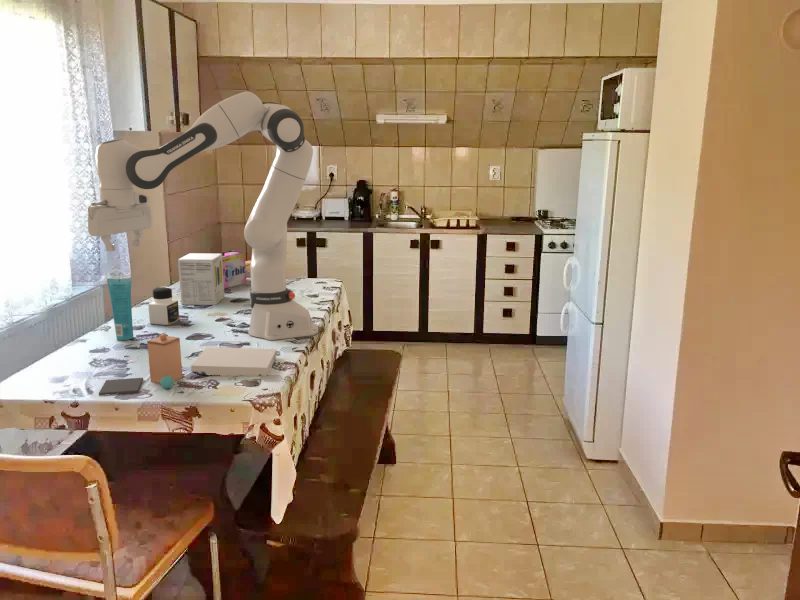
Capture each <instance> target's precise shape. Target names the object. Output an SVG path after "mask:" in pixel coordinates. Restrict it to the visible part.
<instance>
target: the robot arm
mask: <svg viewBox="0 0 800 600" xmlns="http://www.w3.org/2000/svg"><path fill="white" fill-rule="evenodd" d="M300 116H301V115H299V114H298V113H297V112H296V111H295V110H292V108H290V107H289V106H287V105H284V104H280V103H278V102H272V101H271V102H269V101H267V102H263V101H262V100H261V98H259V96H257V94H255V93H253V92H252V91H243V92H239V93H236V94H234V95H232V96H230V97H226V98H224V99H223V100H221V101H219V102H217V103H216V104H214V105H212V106H211V107H209V108H208V109H207V110H206V111H204V112H203V113H202V114H201V115H200V116H198V118H197V119H196V120H195V121H194V122H193V124H192V125H191V126H190V127H189V128H188V129H187V130H185V132H184V133H182V134H181V135H179V136H177V137H175V138H173V139H172V140H170V141H168V142H166V143H165V144H164V145H162V146H160V147H157V148H155V149H144V148H142V147H139V146H136V145H134V144H131V143H130V142H128V141H127V140H126V139H123V138H117V139H111V140H106V141H103V142H101V143H99V144H98V145H97V147H96V150H95V161H96V162H95V163H96V171H97V172H96V173H97V176H98V178H99V187H98V188H99V196H100V201H93V202H91V203H90V204H89V206H88V207H87V231H88V234H89V235H90V236H91V237H94V238H95V237H98V238H99V237H100V239H101V241H102V242H103V244H104V246H105V250H106V251H107V252H114V251H116V248H115V247H116V245H115V244H114V243H112V242H111V239H112V236H111V235H118V234H123V233H130V232H133V234H134V237H133V239H132V240H131V243H132V246H133V247H139V246H141V239H142V236H143V230H148V229H151V227H152V225H153V217H152V210H151V207H150V205H149V203H150V198H149V196H148V195H146V194H142V193H139V192H137V191H135V187H137V188H140V189H142V190H153V189H156V188H158V187H159V186H161V185H162V184H163V182H164V181H165V179H166V178H167V176H168V175H169V173H170V172H171V171H172V170H174V169H175V168H176V167H178V166H179V165H182V164H183V163H184V162H186V161H188V160H189V159H191V158H192V157H195V156H196V155H198V154H201V153H203V152H206V151H209V150H214V149H218V148H221V147H225V146H227V145H229V144H230V143H233V142H235V141H237V140H238V139H240V138H241V137H243V136H245V135H246V134H247V133H248V134H249V133H251V132H254V131H258V132H259V133H260V134H261V135H262V136H264V138H265V139H267V140H268V141H270V142H272V143H274V144H275V145H276V152H275V157H274V159H273V162H272V163H271V166H270V169H269V171H268V175H267V177H266V179H265V182H264V185H263V187H262V189H261V191H260V193H259V196H258V197H257V200H256V201H255V204H254V206H253V208H252V210H251V212H250V215H249V217H248V219H247V221H246V224H245V226H244V229H243V236H244V241H245V242H246V243H247V245H248V246H250V247H251V259H250V263H249V264H250V266H249V267H250V286H251V288H250V290H249V291H250V292H249V303H250V308H251V314H250V315H251V316H250V323H249V326H248V327H249V328H248V332H247V333H248V335H250V336H252V337H256V338H260V339H265V340H267V341H275V340H284V339H290V338H292V339H294V338H301V337H309V336H315V335H316V334H319V326H318V324H317V323H316V322H313V321H312V317H311V314H310V312H309V310H308V309H307V308H306V307H304V306H303V305H302V304H300V303H298V301H295V300H294V299H295V297H296V295H295V292H294V291H293V290H291V288H287V267H286V264H287V262H286V261H287V260H286V259H287V248H288V244H287V243H288V221H289V219H290V217H291V215H292V212H293V210H294V208H295V206H296V204H297V202H298V200H299V197H300V195H301V192H302V190H303V187H304V185H305V182H306V179H307V177H308V174H309V171H310V170H311V169H310V168H311V164H312V160H313V155H314V149H313V145H312V144H311V143H310V142H309V141H308V140H307V139H305V127H304V121H303V120H302V118H301V117H300ZM134 186H135V187H134Z"/></svg>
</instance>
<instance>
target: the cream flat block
mask: <svg viewBox="0 0 800 600" xmlns="http://www.w3.org/2000/svg"><path fill="white" fill-rule="evenodd" d="M276 358H277V348H251V347H250V348H249V347H220V346H219V347H217V346H214V347H213V346H206V347H205V348H204V349H203V351H202V352H201V353H200V354H199V355H198V357H197V358H196V359H195V360H194V361H193V363H192V364H191V365H190V367H191V369H190V370H191V372H198V373H199V372H203V373H205V375H206V376H207V375H212V376H219V375H220V376H219V377H230V376H231V377H259V376H261V377H267V376H268V375H269V374H270V371H271V369H272V367H273V365H274V363H275V360H276Z"/></svg>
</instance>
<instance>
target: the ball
mask: <svg viewBox="0 0 800 600" xmlns="http://www.w3.org/2000/svg"><path fill="white" fill-rule="evenodd" d="M159 384H160V385H161V387H162V388H163V389H166V390H167V389H168V390H169V389H170V388H172V387H173V386H174V384H175V381H174V380H173V378H172V377H170V376H164V377H163V378H162V379H161V381H160V383H159Z"/></svg>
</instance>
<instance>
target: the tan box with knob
mask: <svg viewBox="0 0 800 600" xmlns="http://www.w3.org/2000/svg"><path fill="white" fill-rule="evenodd" d="M180 339H181V338H180V337H176V336H171V335H167V334H166V333H161V334H160V335H159V336H157V337H154V338H152V339H149V340H147V341H146V342H147V343H146V345H147V354H148V364H149V365H148V366H149V378H150V382H152V383H157V384H160V381H161V379H162V378H163V377H164V376H170V377H172V378H173V380H174V382H176V381H178V379H179V380H180V378H181V379H183V378H182V377H183V364H182V354H181V353H182V352H181V341H180Z"/></svg>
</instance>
